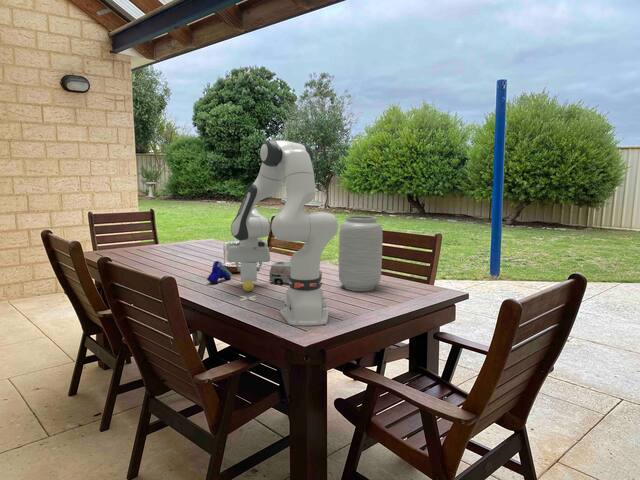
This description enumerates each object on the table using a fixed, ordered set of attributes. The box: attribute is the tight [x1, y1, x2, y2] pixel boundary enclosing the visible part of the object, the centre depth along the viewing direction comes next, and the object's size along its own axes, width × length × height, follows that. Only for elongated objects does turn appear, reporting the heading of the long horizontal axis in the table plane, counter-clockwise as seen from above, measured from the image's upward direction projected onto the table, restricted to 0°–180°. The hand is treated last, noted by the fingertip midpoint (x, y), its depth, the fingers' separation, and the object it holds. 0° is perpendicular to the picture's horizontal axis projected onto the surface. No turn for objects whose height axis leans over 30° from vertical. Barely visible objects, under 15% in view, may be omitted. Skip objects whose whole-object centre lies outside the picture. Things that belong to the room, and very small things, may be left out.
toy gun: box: [206, 260, 233, 285], centre depth 227 cm, size 4×13×10 cm
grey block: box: [240, 262, 258, 283], centre depth 219 cm, size 7×7×9 cm
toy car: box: [268, 261, 323, 286], centre depth 226 cm, size 11×25×10 cm, turn 78°
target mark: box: [239, 295, 258, 302], centre depth 198 cm, size 9×9×1 cm
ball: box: [242, 280, 255, 292], centre depth 209 cm, size 5×5×5 cm
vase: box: [338, 215, 383, 292], centre depth 217 cm, size 20×20×34 cm
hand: (248, 271), depth 219 cm, fingers closed on grey block, 7 cm apart
